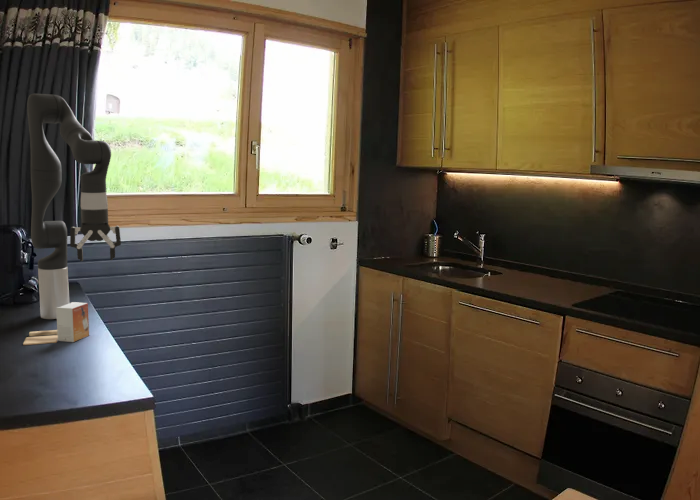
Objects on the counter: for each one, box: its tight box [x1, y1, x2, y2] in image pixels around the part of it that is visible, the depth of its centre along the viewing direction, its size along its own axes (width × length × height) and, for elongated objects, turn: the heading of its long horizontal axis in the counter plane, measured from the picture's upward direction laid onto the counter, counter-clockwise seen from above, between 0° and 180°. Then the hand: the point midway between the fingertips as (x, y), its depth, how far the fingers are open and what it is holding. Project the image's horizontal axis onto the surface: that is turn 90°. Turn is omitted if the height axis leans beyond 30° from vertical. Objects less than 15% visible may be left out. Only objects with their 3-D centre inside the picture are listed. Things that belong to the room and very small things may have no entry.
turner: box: [28, 329, 58, 337], centre depth 196 cm, size 14×5×1 cm, turn 112°
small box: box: [56, 301, 90, 343], centre depth 191 cm, size 8×6×10 cm
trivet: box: [22, 334, 58, 346], centre depth 189 cm, size 7×9×1 cm
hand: (96, 260), depth 191 cm, fingers open, 8 cm apart
